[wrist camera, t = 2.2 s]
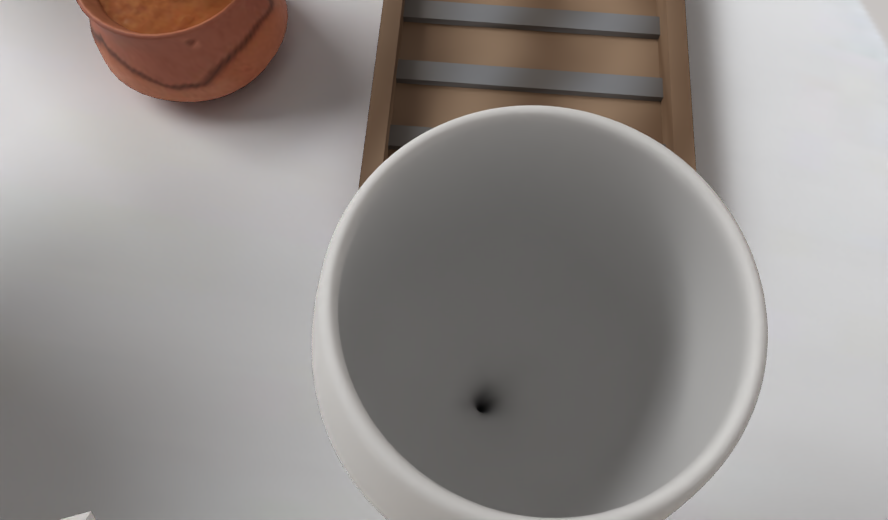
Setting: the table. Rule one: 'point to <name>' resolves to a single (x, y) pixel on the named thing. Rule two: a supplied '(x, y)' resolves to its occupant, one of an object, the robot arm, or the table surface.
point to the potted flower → (187, 43)
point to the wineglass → (536, 324)
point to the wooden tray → (529, 66)
